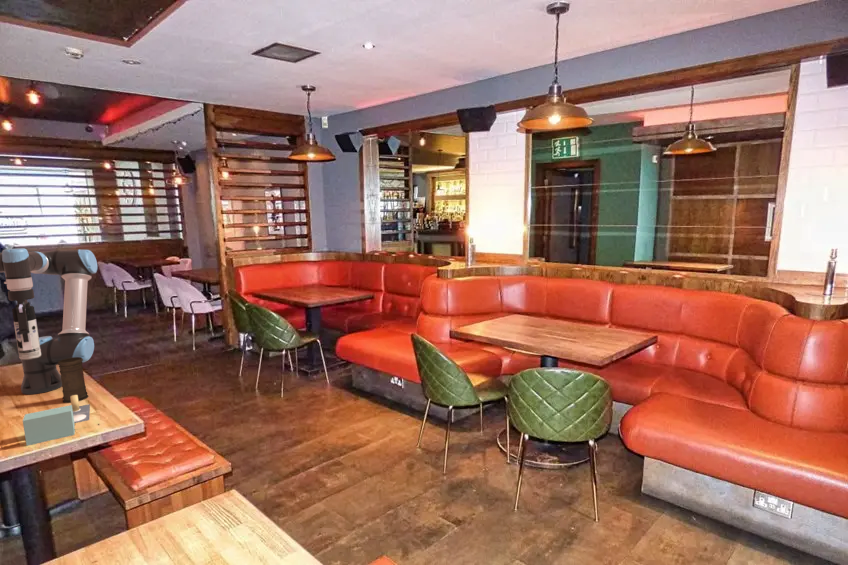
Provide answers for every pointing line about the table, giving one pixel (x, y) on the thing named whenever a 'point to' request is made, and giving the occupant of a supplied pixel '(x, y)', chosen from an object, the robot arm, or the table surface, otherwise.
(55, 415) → the pale green block
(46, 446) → the table surface
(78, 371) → the container
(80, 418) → the slate board
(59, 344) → the robot arm
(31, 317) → the spray can
